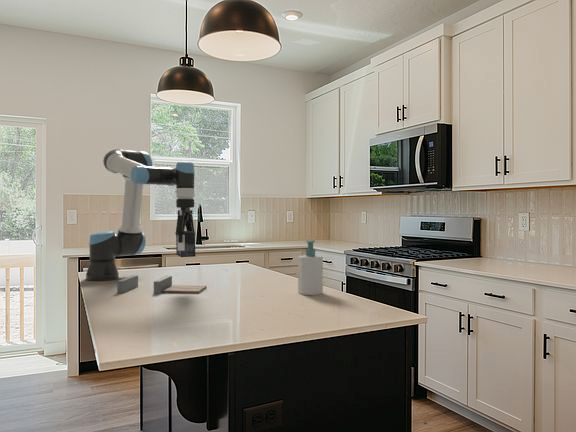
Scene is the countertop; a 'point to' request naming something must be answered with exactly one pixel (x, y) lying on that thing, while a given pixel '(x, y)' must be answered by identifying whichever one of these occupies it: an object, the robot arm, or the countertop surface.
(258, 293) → the countertop surface
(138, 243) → the robot arm
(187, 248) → the small box
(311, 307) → the countertop surface
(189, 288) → the walnut pad
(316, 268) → the soap bottle
